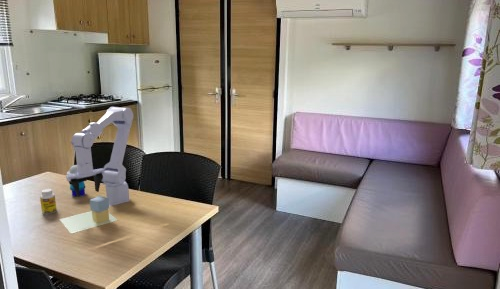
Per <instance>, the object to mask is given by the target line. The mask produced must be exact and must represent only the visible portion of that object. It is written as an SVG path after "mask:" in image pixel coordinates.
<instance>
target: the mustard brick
mask: <svg viewBox="0 0 500 289" xmlns="http://www.w3.org/2000/svg"><path fill="white" fill-rule="evenodd" d="M91 211H92V210H91ZM109 213H110V212H109V209H107V210H104V211H102V212H100V213H98V212H95V211H92V219H93V220H94V221H95V222H96V223H100V222H104V221H107V220H109Z"/></svg>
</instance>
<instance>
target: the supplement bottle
mask: <svg viewBox="0 0 500 289" xmlns="http://www.w3.org/2000/svg"><path fill="white" fill-rule="evenodd" d="M39 198H40V199H39V200H40V205H41V206H40V207H41V213H42V214H43V215H51V214H53V213H56V212H57V203H56V195H55V193H54V192H53V189H51V188H45V189H42V190H41V195H39Z"/></svg>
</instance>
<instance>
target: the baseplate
mask: <svg viewBox="0 0 500 289" xmlns="http://www.w3.org/2000/svg"><path fill="white" fill-rule="evenodd" d="M59 221H60V222H61V224H62V225H63V226H64V227H65V228H66V230H67V231H68V232H69V233H70V234H75V233H78V232H81V231H85V230H89V229H93V228H96V227H99V226H104V225H107V224H109V223H114V222H117V221H118V219H117V218H116V217H115V216H113V215H112V214H111V213H110V212H109V220H107V221H104V222H100V223H96V222H95V221H94V220H93V219H92V210H90V211H87V212H82V213H78V214H75V215H71V216H67V217H63V218H59Z"/></svg>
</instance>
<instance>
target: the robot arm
mask: <svg viewBox="0 0 500 289" xmlns="http://www.w3.org/2000/svg"><path fill="white" fill-rule="evenodd" d="M133 120H134V113H133V110H132V108H130V107H119V106H110V107H109V108H108V109H106V113H105V114H104V115H103V116H101V118H100V119H99V120H98V121H97V122H94V121H93V122H90V123H89V124H88V126H86V127H84V129H81V131H80V132H76V133H74V134H73V135H72V137H71V139H70V144H71V146H72V147H73V150H74V152H75V160H76V165H77V169H78V172H77V173H74V174H71V175H67V174H66V176H65V177H66V181H67V182H69V181H70V183H71V184H72V186H73V187H74V189H75V192H76V195H77V196H76V197H81V196H80V191H79V182H78V180H77V179H79V178H84V177H86V178H88V177H93V180H94V189H95V192H97V193H99V191H100V186H101V183H103V185H104V186H105V194H106V198H108V200H109V207H112V206H116V205H119V204H120V205H121V204H124V203H128V202H131V200H130V192H129V191H130V190H129V184H128V183H127V181H126V178H127V177H126V176H127V175H126V172H127V168H126V167H125V166H124V164H123V161H124V157H125V153H126V149H127V148H126V147H127V144H128V140H129V135H130V132H131V127H132V125H133ZM111 123H112V124H113V126H115V127H116V129H117V130H116V134H115V139H114V143H113V146H112V152H111V154H110V160H109V162H107V163H106V164H105V165H104V166H103V167H102V168H97V169H96V168H95V169H94V166H93V158H92V148H91V147H92V146H93V145H94V142H95V140H96V139H97V138H98V137H99V136H100V135H102V134H103V131H104V128H106V127H107V126H109V125H110V124H111Z"/></svg>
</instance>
